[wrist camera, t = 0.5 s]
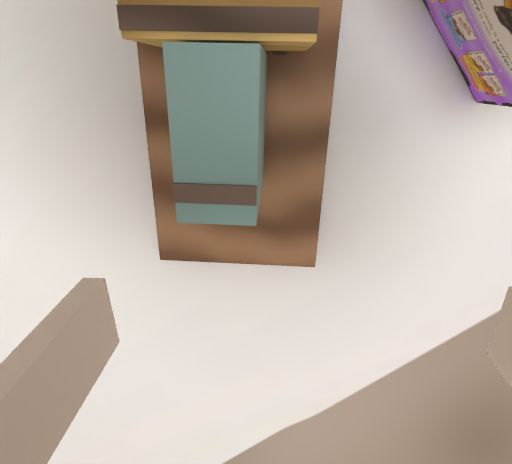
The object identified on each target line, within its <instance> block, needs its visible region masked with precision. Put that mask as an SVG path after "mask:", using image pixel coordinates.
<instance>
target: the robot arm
mask: <svg viewBox="0 0 512 464" xmlns="http://www.w3.org/2000/svg"><path fill="white" fill-rule="evenodd" d="M118 343H119V338H118V333H117V329H116V325H115V320H114V316H113V311H112V307H111V303H110V298H109V294H108V289H107V285H106V281H105V278H83V279H82V280H81V281H80V282H79V283H78V284H77V285H76V286H75V287H74V288H73V289H72V290H71V291H70V292H69V293H68V294H67V295H66V296H65V297H64V298H63V299H62V300H61V302H60V303H59V304H58V305H57V306H56V307H55V308H54V309H53V310H52V311H51V312H50V313H49V314H48V315H47V316H46V317H45V318H44V319H43V320H42V321H41V322H40V323H39V324H38V325H37V327H36V328H35V329H34V330H33V331H32V332H31V333H30V334H29V335H28V336H27V337H26V338H25V339H24V340H23V341H22V342H21V343H20V344H19V345H18V346H17V347H16V348H15V349H14V351H13V352H12V353H11V354H10V355H9V356H8V357H7V358H6V359H5V360H4V361H3V362H2V363H1V364H0V464H47V463H48V461H49V459H50V458H51V456H52V454H53V452H54V451H55V449H56V447H57V446H58V444H59V442H60V441H61V439H62V437H63V436H64V434H65V432H66V431H67V429H68V427H69V426H70V424H71V422H72V421H73V419H74V417H75V416H76V414H77V412H78V411H79V409H80V407H81V405H82V404H83V402H84V400H85V399H86V397H87V395H88V394H89V392H90V390H91V389H92V387H93V385H94V384H95V382H96V380H97V379H98V377H99V375H100V374H101V372H102V370H103V369H104V367H105V365H106V364H107V362H108V360H109V358H110V357H111V355H112V353H113V352H114V350H115V348H116V347H117V345H118ZM486 354H487V355H488V357H489V358H490V359H491V361H492V362H493V363H494V365H495V366H496V368H497V369H498V370H499V372H500V373H501V374H502V376H503V377H504V378H505V380H506V381H507V382H508V384H509V385H510V386H511V388H512V287H509V288H508V291H507V294H506V297H505V300H504V302H503V305H502V308H501V311H500V314H499V317H498V320H497V323H496V326H495V329H494V332H493V335H492V338H491V341H490V344H489V347H488V350H487V353H486Z"/></svg>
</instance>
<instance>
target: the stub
mask: <svg viewBox="0 0 512 464" xmlns="http://www.w3.org/2000/svg"><path fill="white" fill-rule="evenodd" d="M162 46H163V58H164V70H165V83H166V95H167V108H168V120H169V132H170V145H171V157H172V170H173V182H174V183H173V194H174V203H175V207H176V219H177V223H198V224H221V225H245V226H256V224H257V217H258V210H259V204H260V197H261V190H262V184H263V174H264V140H265V107H266V73H267V54H266V52H265V51H264V49H263V47H262V46H261V44H253V43H198V42H162Z"/></svg>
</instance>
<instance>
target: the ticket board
mask: <svg viewBox="0 0 512 464" xmlns="http://www.w3.org/2000/svg"><path fill="white" fill-rule="evenodd" d="M341 10H342V0H118V5H117V12H118V20H119V28H120V30H121V33H122V38H123V39H127V40H132V41H136V42H137V48H138V57H139V66H140V76H141V85H142V94H143V104H144V113H145V122H146V132H147V141H148V150H149V160H150V169H151V178H152V188H153V197H154V206H155V216H156V225H157V234H158V244H159V253H160V260H178V261H199V262H220V263H240V264H261V265H282V266H303V267H315V260H316V250H317V241H318V231H319V221H320V212H321V202H322V193H323V183H324V173H325V164H326V154H327V144H328V135H329V125H330V116H331V106H332V96H333V87H334V77H335V67H336V58H337V48H338V39H339V29H340V19H341ZM162 42H198V43H253V44H261V46H262V47H263V49H264V51H265V52H266V54H267V73H266V107H265V140H264V174H263V184H262V190H261V197H260V204H259V210H258V217H257V224H256V226H245V225H221V224H198V223H177V219H176V207H175V203H174V194H173V183H174V182H173V170H172V157H171V145H170V132H169V120H168V108H167V95H166V83H165V70H164V58H163V46H162Z"/></svg>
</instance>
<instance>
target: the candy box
mask: <svg viewBox="0 0 512 464" xmlns="http://www.w3.org/2000/svg"><path fill="white" fill-rule="evenodd" d="M423 1H424V2H425V4H426V6H427V8H428V10H429V11H430V13H431V15H432V17H433V19H434V21H435V23H436V25H437V27H438V29H439V31H440V33H441V35H442V37H443V38H444V40H445V42H446V44H447V45H448V47H449V49H450V51H451V54H452V55H453V57H454V59H455V61H456V63H457V64H458V66H459V68H460V70H461V72H462V74H463V76H464V77H465V80H466V82H467V84H468V86H469V88H470V90H471V91H472V93H473V96H474V97H475V99H476V101H477V103H483V104H493V105H500V106H509V107H512V0H423Z"/></svg>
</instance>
